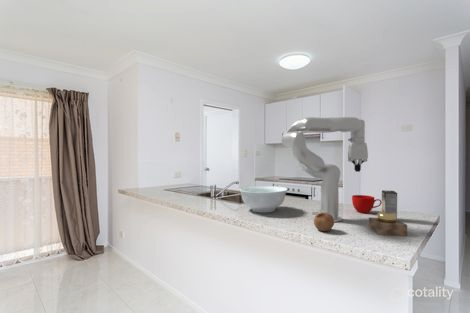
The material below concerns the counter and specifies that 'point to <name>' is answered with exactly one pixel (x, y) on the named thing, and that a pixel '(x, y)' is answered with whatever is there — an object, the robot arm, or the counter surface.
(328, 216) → the onion
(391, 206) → the coffee box
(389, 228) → the block
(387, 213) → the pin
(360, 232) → the counter surface
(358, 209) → the ceramic cup
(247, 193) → the bowl
